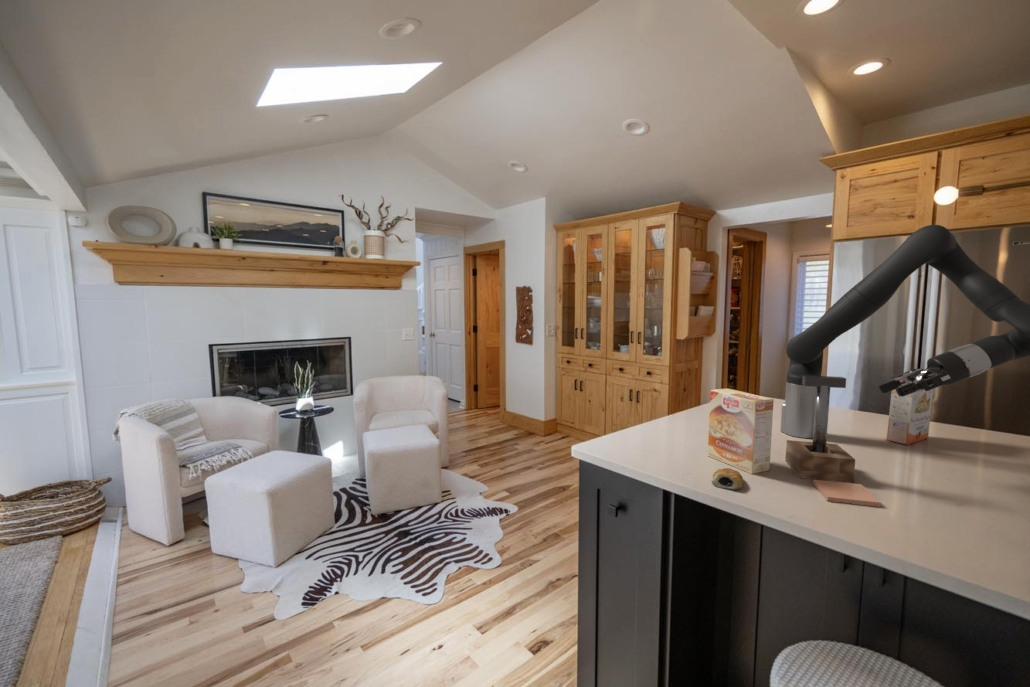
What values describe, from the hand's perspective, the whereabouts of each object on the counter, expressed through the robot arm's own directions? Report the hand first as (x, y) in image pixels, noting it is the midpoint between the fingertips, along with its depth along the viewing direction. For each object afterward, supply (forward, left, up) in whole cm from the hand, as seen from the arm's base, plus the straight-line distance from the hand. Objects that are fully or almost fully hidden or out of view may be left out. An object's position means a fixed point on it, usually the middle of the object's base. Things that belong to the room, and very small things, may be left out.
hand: (888, 391), depth 117 cm
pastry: (-15, -41, -22) cm, 49 cm away
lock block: (-8, -14, -22) cm, 27 cm away
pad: (+3, -23, -22) cm, 32 cm away
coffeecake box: (-22, -27, -22) cm, 41 cm away
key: (-8, -14, -20) cm, 25 cm away
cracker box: (-9, +38, -22) cm, 45 cm away
